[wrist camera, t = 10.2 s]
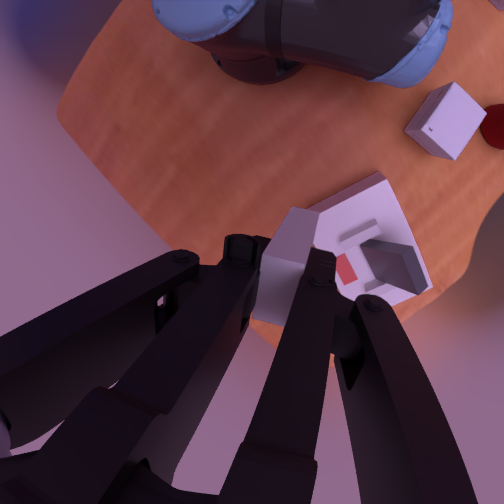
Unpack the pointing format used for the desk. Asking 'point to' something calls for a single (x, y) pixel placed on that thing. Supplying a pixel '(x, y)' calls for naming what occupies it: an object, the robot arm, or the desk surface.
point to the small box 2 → (498, 4)
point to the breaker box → (363, 235)
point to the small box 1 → (446, 121)
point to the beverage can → (494, 126)
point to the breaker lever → (395, 265)
